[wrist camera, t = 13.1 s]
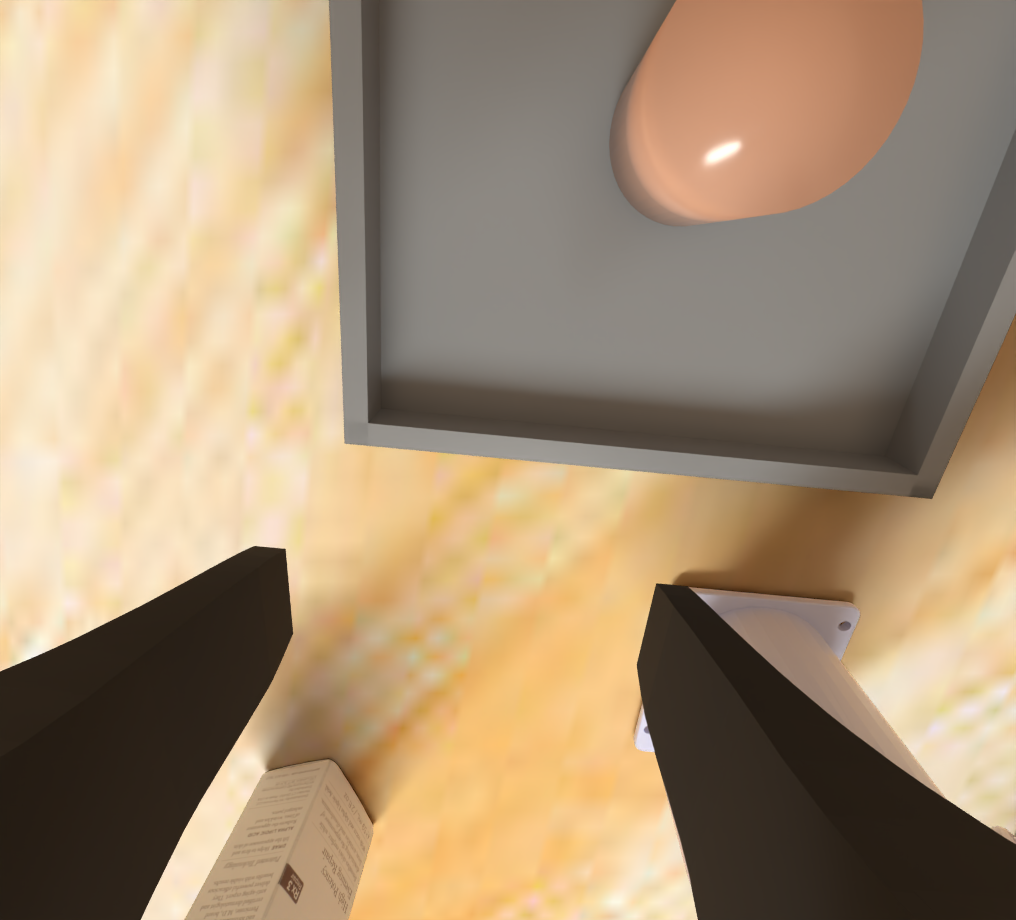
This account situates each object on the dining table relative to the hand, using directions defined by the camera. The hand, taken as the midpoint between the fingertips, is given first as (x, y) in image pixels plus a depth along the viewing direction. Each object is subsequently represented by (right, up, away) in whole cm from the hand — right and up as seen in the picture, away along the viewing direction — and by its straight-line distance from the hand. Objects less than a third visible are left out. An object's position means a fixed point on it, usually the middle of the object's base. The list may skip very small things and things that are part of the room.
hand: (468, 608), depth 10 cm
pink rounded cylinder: (+6, +12, +5) cm, 15 cm away
